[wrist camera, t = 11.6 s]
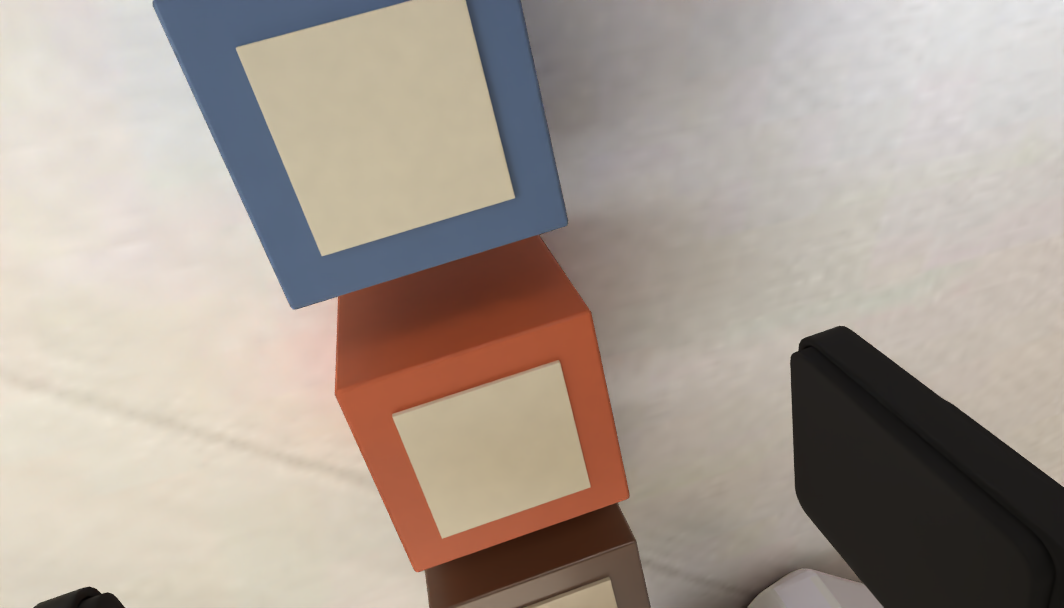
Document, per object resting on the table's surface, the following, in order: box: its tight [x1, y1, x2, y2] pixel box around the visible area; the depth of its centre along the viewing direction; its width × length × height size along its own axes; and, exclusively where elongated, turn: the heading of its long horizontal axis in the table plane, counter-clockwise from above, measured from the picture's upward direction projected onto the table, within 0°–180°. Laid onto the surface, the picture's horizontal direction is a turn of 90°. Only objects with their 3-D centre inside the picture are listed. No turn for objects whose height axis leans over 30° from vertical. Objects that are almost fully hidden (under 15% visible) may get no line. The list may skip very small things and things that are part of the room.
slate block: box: [153, 0, 568, 309], centre depth 11 cm, size 4×4×4 cm
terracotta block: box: [335, 235, 629, 572], centre depth 14 cm, size 4×4×4 cm
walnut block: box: [425, 503, 651, 608], centre depth 16 cm, size 4×4×4 cm
